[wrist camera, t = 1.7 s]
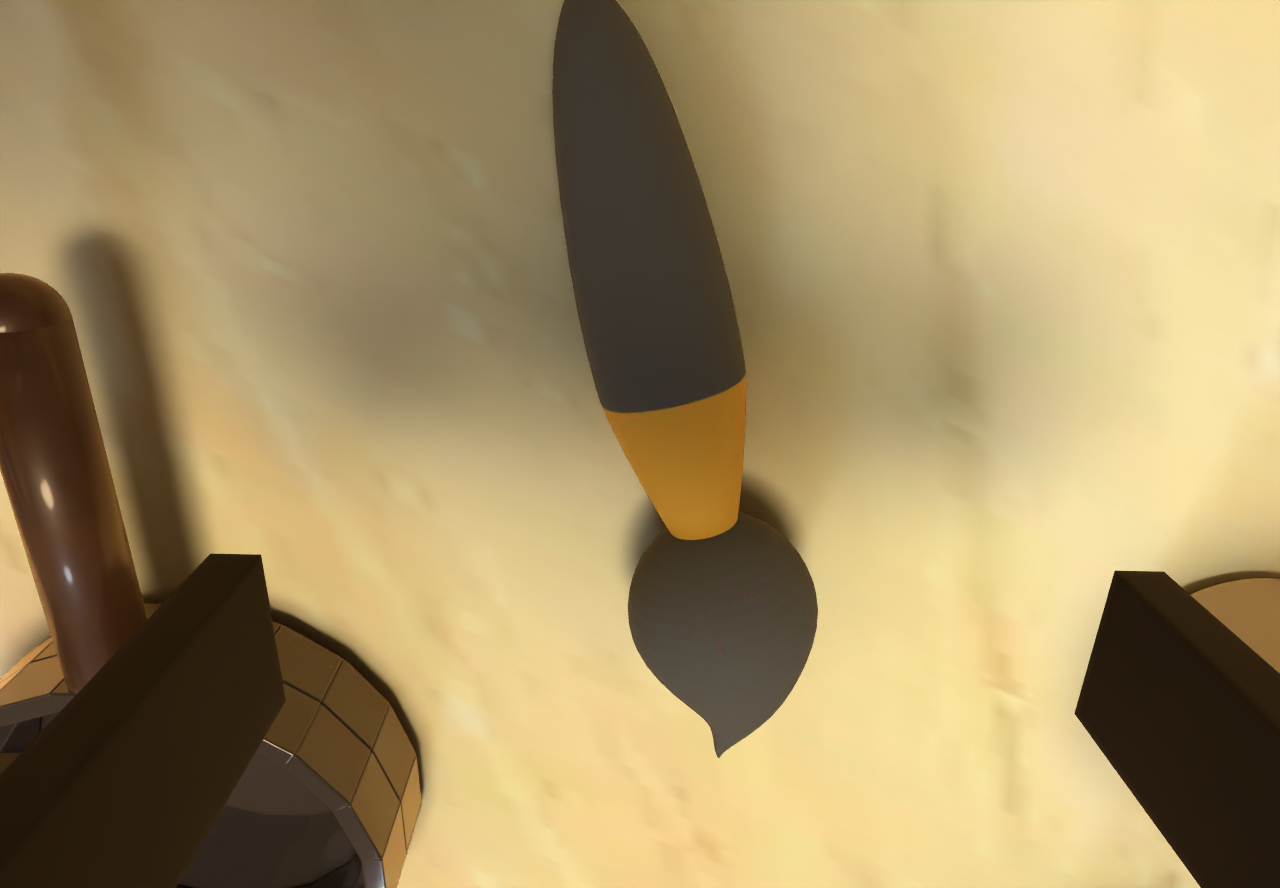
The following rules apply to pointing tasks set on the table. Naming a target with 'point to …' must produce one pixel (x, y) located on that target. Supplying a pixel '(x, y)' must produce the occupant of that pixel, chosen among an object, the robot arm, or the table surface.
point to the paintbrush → (671, 382)
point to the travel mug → (1248, 613)
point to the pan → (282, 775)
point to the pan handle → (62, 482)
